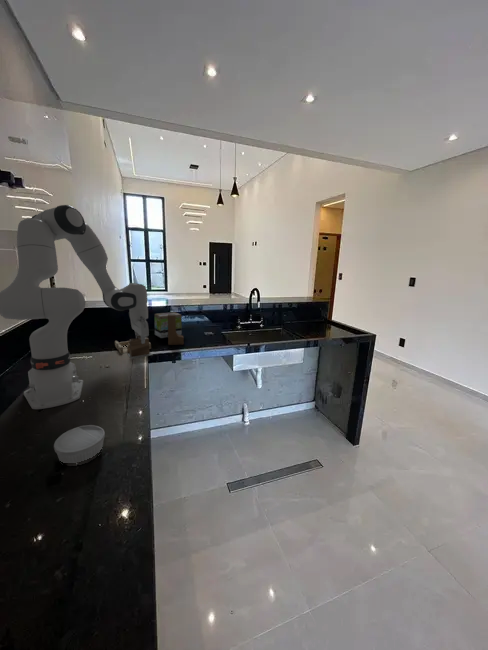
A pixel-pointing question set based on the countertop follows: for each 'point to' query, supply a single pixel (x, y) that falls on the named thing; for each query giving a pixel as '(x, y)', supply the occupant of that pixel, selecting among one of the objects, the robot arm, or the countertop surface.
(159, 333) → the tea box
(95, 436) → the ramekin
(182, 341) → the wooden block
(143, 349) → the dark brown wood block
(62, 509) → the countertop surface
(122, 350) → the tray
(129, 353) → the mat
